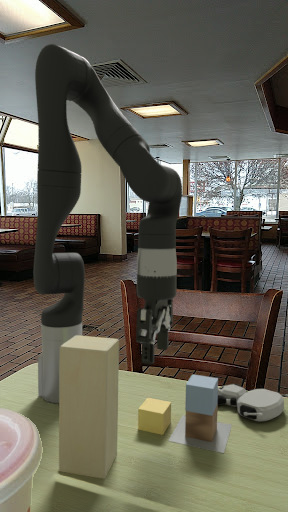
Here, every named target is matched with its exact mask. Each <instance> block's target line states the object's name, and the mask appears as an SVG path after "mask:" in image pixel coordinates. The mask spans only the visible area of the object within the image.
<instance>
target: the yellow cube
mask: <svg viewBox="0 0 288 512" xmlns="http://www.w3.org/2000/svg"><path fill="white" fill-rule="evenodd" d="M171 422H172V402H171V401H167V400H162V399H157V398H151V397H147V398H146V399H145V400H144V402H143V403H142V404H141V405H140V406H139V407H138V412H137V429H138V430H139V431H144V432H147V433H148V432H149V433H152V434H158V435H160V436H161V435H162V436H163V435H164V434H165V432H166V431H167V430H168V427H169V426H170V424H171Z"/></svg>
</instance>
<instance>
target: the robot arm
mask: <svg viewBox="0 0 288 512" xmlns="http://www.w3.org/2000/svg"><path fill="white" fill-rule="evenodd" d="M34 71H35V72H34V75H35V76H34V78H35V79H34V81H35V84H34V85H35V95H36V109H37V110H36V111H37V125H38V126H37V127H38V129H37V130H38V131H37V133H38V136H37V137H38V144H37V145H38V149H37V151H38V155H37V157H38V158H37V169H36V170H37V173H36V175H37V177H36V180H37V181H36V183H37V185H36V187H37V189H36V190H37V191H36V194H37V197H36V198H37V199H36V202H37V212H36V213H37V214H36V215H37V217H36V218H37V221H36V222H37V224H36V238H35V246H34V247H35V249H34V258H33V259H34V261H33V273H32V274H33V275H32V276H33V284H34V288H35V290H36V292H37V293H38V294H39V295H43V296H44V295H57V294H58V295H59V294H64V295H63V297H62V298H61V299H60V300H58V301H57V302H56V303H54V304H52V305H51V306H48V307H46V308H45V309H43V310H42V312H41V314H40V316H41V317H40V327H41V328H40V329H41V354H39V355H38V357H37V374H38V375H37V378H38V379H37V380H38V381H37V383H38V384H37V385H38V387H37V388H38V389H37V390H38V391H37V393H38V394H37V396H38V397H41V398H42V399H43V400H45V401H46V402H48V403H52V404H53V403H55V404H59V365H60V346H61V345H63V344H64V343H65V342H67V341H68V340H70V339H71V338H73V337H74V336H76V335H80V336H83V314H84V313H83V312H84V297H85V295H84V293H85V281H86V280H85V278H86V276H85V274H86V272H85V271H86V269H85V263H84V260H83V258H82V256H81V255H80V253H78V252H54V248H55V243H56V239H57V236H58V233H59V231H60V230H61V228H62V226H63V224H64V223H65V221H66V220H67V219H68V217H69V215H70V214H71V213H72V211H73V210H74V208H75V207H76V205H77V203H78V201H79V199H80V196H81V193H82V192H81V191H82V190H81V189H82V172H83V171H82V162H81V158H80V155H79V151H78V149H77V146H76V143H75V141H74V139H73V137H72V134H71V131H70V128H69V124H68V123H69V122H68V117H67V115H68V114H67V101H69V102H73V103H74V104H76V105H77V106H79V108H81V109H82V110H83V111H84V112H85V113H86V114H87V115H88V117H89V118H90V119H91V121H92V124H93V127H94V132H95V134H96V137H97V138H98V141H99V143H100V144H101V146H102V148H103V149H104V150H105V151H106V152H107V153H108V154H107V155H109V156H110V157H111V159H112V160H113V161H114V162H115V164H116V165H117V166H118V167H119V169H120V171H121V173H122V175H123V178H124V179H125V182H126V183H127V185H128V187H129V189H131V191H132V193H134V194H135V196H137V197H138V199H140V200H142V201H144V202H146V203H148V206H147V212H146V213H147V214H146V215H145V216H144V217H143V218H141V219H140V220H139V224H138V234H137V235H138V236H137V237H138V241H137V243H138V245H137V247H138V248H137V251H138V252H137V259H136V295H137V297H138V298H139V299H143V300H144V307H143V308H140V307H139V308H137V309H136V329H135V331H136V333H135V335H136V336H135V339H136V340H135V343H140V344H141V363H142V364H145V365H153V364H154V363H155V342H156V349H158V350H161V351H167V350H168V349H169V333H170V330H171V327H172V326H173V324H174V319H173V317H174V310H173V308H174V307H173V305H174V298H176V296H177V274H178V273H177V270H178V269H177V268H178V264H177V263H178V262H177V252H176V251H177V250H176V248H177V245H176V244H177V243H176V242H177V240H176V239H177V238H176V237H177V231H176V230H177V229H176V228H177V227H176V226H177V221H178V218H179V214H180V208H181V203H182V197H183V184H182V183H183V182H182V179H181V176H180V174H179V173H178V172H177V171H176V170H175V169H173V168H171V167H170V166H169V167H168V166H166V165H162V164H161V163H160V162H158V161H157V160H156V158H154V156H153V155H152V154H151V150H150V149H151V148H150V146H149V143H148V142H147V141H146V140H145V138H144V137H143V136H142V134H141V133H140V132H139V131H138V130H137V129H136V127H135V126H134V125H132V123H131V122H130V121H129V119H128V118H127V117H126V116H125V115H124V114H123V113H122V111H121V110H120V108H118V106H117V105H116V103H115V102H114V101H113V99H112V98H111V96H110V94H109V93H108V91H107V90H106V88H105V87H104V85H103V82H102V81H101V80H100V78H99V76H98V74H97V73H96V71H95V69H94V68H93V66H92V65H91V64H90V62H89V61H88V60H87V59H86V58H85V57H83V56H82V55H80V54H78V53H75V52H73V51H72V50H69V49H68V48H65V47H63V46H61V45H58V44H54V43H52V44H51V43H49V44H46V45H45V46H44V47H43V48H42V49H41V50H40V52H39V54H38V56H37V59H36V63H35V69H34Z"/></svg>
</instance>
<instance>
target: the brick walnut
mask: <svg viewBox="0 0 288 512" xmlns="http://www.w3.org/2000/svg"><path fill="white" fill-rule="evenodd" d="M218 406H219V405H218V404H217V406H216V408H215V411H214V413H213V416H211V415H206V414H200V413H195V412H190V411H185V416H186V419H185V437H190V438H194V439H199V440H204V441H208V442H212V441H213V438H214V435H215V432H216V430H217V422H218V410H219V409H218Z"/></svg>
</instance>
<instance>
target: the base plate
mask: <svg viewBox="0 0 288 512" xmlns="http://www.w3.org/2000/svg"><path fill="white" fill-rule="evenodd" d="M185 419H186V414H182V416H181V417H180V419H179V421H178V422H177V425H176V426H175V428H174V430H173V432H172V433H171V435H170V437H169V438H168V440H167V442H170V443H176V444H179V445H184V446H188V447H194V448H198V449H202V450H207V451H210V452H215V453H220V454H224V453H225V450H226V447H227V443H228V440H229V437H230V433H231V430H232V427H233V425H232V424H231V423H224V422H220V421H217V430H216V432H215V435H214V438H213V441H212V442H208V441H204V440H199V439H194V438H190V437H185Z"/></svg>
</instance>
